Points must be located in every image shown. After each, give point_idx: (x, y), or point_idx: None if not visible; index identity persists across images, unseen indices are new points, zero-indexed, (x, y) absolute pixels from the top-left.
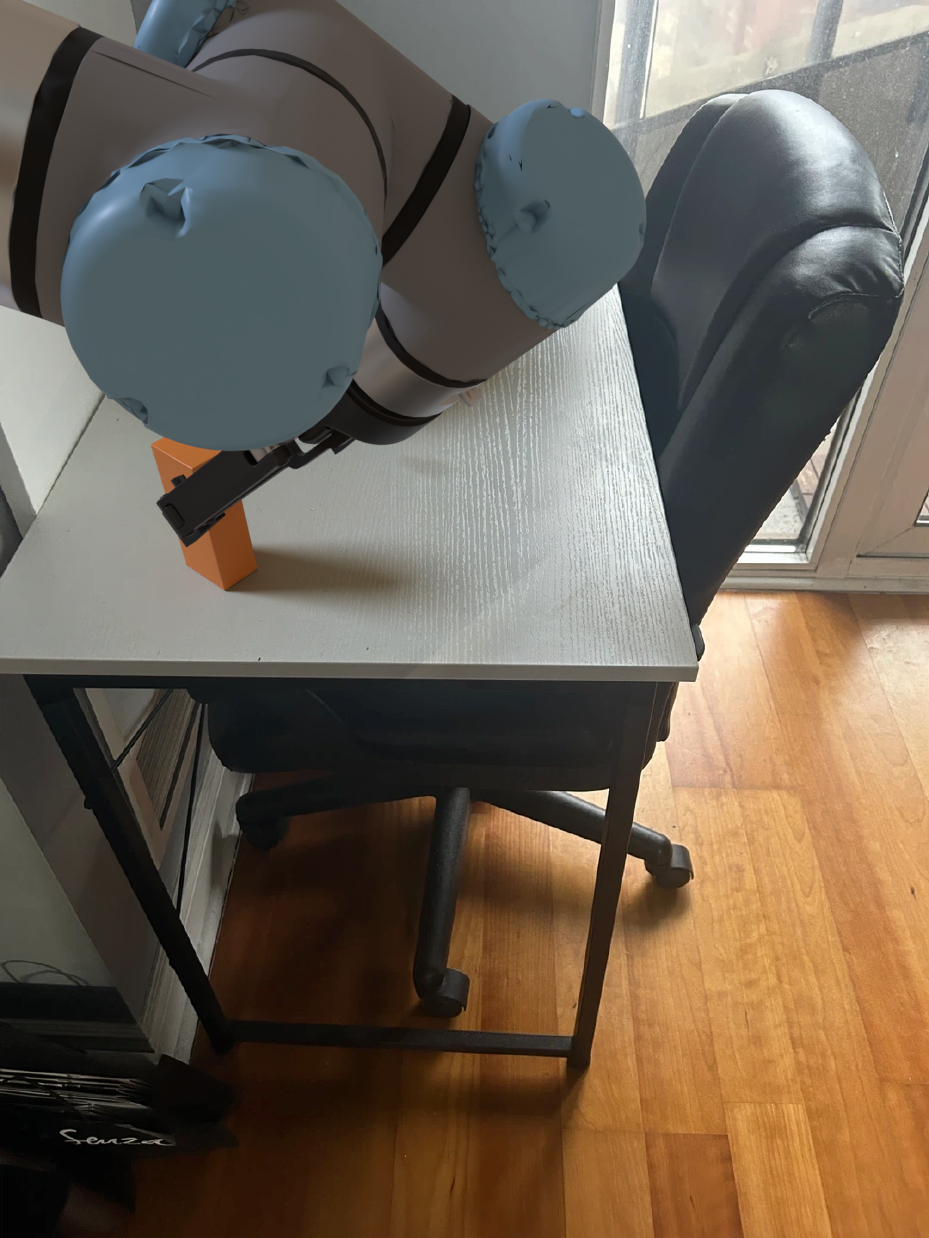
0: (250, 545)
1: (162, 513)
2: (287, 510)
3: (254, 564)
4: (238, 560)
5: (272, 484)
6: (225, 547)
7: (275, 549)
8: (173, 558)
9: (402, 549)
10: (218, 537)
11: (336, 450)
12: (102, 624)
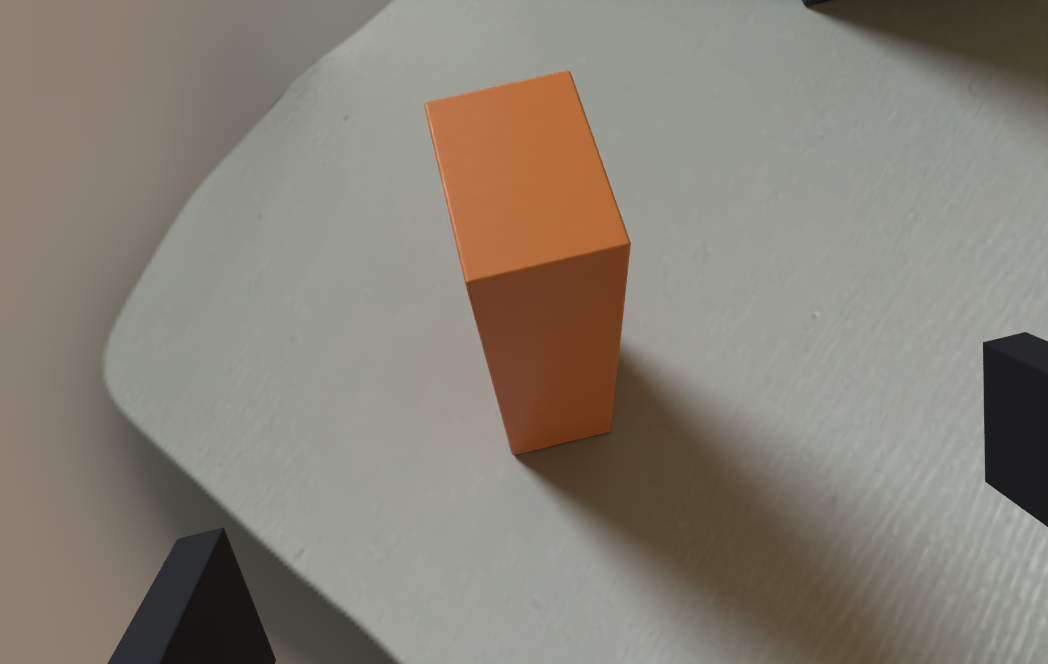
0: (608, 405)
1: (174, 546)
2: (760, 288)
3: (606, 426)
4: (565, 423)
5: (765, 193)
6: (536, 410)
7: (677, 393)
8: None
9: (977, 586)
10: (521, 396)
11: (1005, 487)
12: (257, 397)
